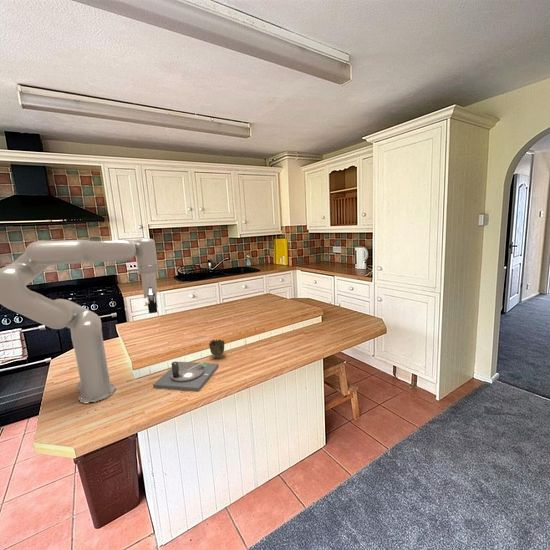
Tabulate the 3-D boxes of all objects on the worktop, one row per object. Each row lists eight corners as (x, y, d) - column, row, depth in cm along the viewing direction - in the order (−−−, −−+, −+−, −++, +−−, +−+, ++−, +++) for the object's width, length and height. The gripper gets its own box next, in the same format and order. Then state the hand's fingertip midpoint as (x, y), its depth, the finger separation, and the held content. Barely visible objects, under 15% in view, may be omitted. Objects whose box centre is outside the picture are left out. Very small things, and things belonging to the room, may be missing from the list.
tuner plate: (153, 388, 119) (152, 384, 119) (178, 364, 138) (178, 361, 138) (198, 391, 115) (198, 387, 114) (218, 366, 134) (218, 363, 134)
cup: (222, 361, 139) (220, 345, 138) (207, 360, 141) (206, 344, 139) (227, 354, 146) (226, 339, 145) (214, 353, 148) (212, 338, 146)
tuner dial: (183, 385, 116) (182, 368, 115) (163, 375, 125) (161, 360, 124) (215, 367, 130) (214, 352, 128) (195, 360, 138) (193, 346, 137)
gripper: (138, 267, 126) (144, 305, 129) (137, 273, 110) (142, 316, 113) (157, 265, 129) (162, 303, 132) (158, 271, 113) (163, 313, 116)
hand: (153, 309), depth 123 cm, fingers open, 9 cm apart
